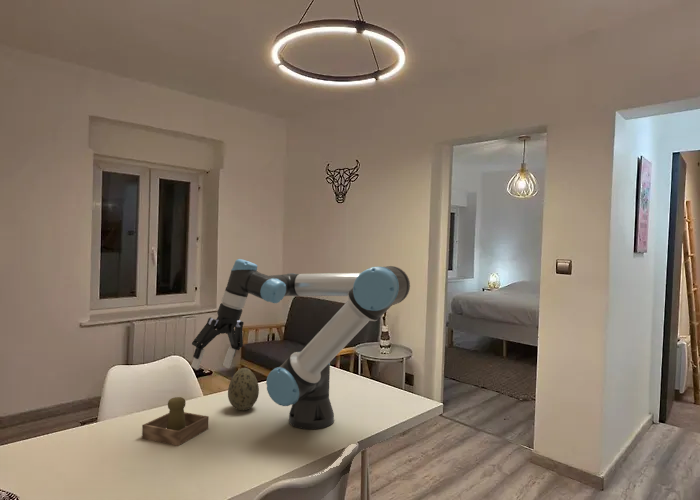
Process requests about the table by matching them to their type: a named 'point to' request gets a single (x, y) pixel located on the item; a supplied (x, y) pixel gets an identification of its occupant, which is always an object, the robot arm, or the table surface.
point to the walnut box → (160, 433)
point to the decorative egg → (243, 389)
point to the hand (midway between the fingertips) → (210, 367)
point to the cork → (176, 413)
